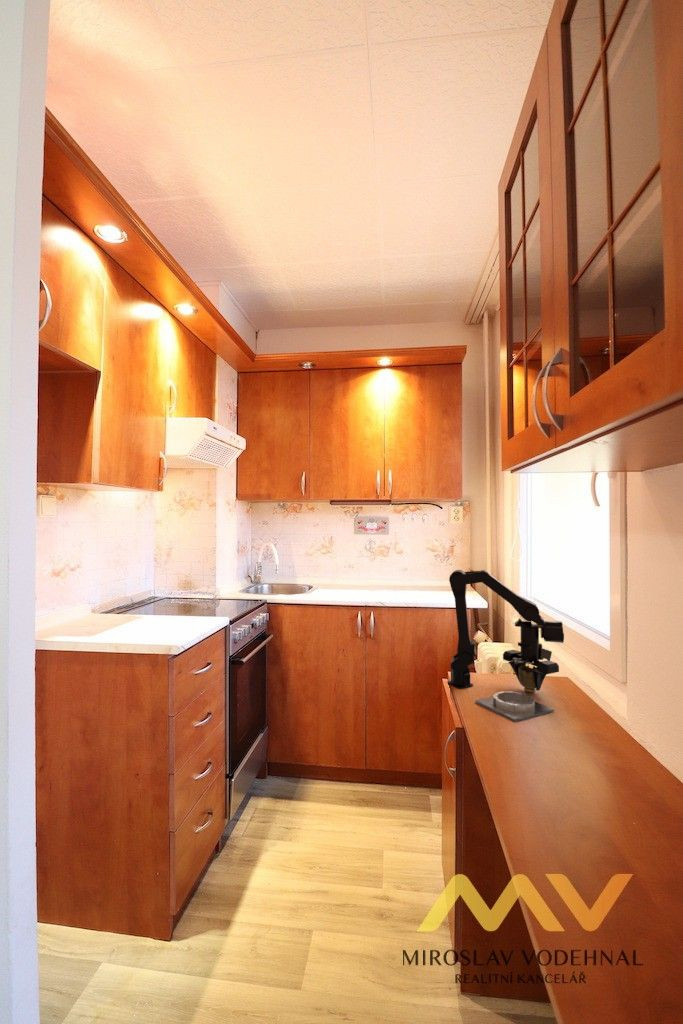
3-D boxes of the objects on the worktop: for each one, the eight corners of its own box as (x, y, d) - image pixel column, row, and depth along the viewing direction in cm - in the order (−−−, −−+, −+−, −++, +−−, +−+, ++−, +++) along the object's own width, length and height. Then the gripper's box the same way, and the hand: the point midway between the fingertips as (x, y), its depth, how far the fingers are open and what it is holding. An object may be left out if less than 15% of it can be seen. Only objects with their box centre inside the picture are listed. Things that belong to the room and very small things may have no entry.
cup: (543, 690, 160) (543, 667, 161) (539, 697, 154) (539, 672, 154) (520, 686, 164) (520, 663, 164) (515, 693, 158) (515, 669, 158)
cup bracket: (475, 702, 150) (475, 693, 150) (512, 694, 157) (512, 685, 157) (515, 722, 135) (515, 712, 135) (553, 711, 143) (553, 702, 143)
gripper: (570, 643, 155) (570, 692, 155) (524, 631, 172) (524, 675, 171) (546, 648, 150) (546, 698, 150) (501, 635, 166) (501, 680, 166)
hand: (529, 687), depth 159 cm, fingers closed on cup, 6 cm apart
